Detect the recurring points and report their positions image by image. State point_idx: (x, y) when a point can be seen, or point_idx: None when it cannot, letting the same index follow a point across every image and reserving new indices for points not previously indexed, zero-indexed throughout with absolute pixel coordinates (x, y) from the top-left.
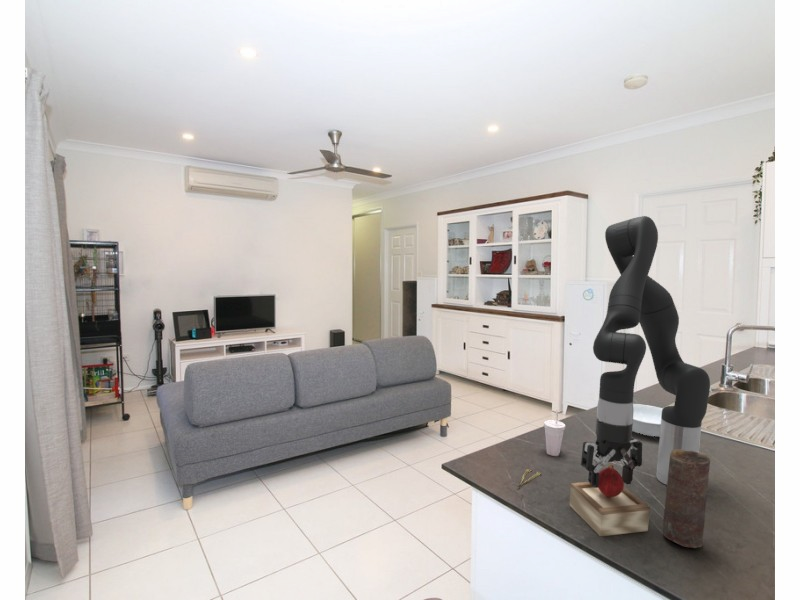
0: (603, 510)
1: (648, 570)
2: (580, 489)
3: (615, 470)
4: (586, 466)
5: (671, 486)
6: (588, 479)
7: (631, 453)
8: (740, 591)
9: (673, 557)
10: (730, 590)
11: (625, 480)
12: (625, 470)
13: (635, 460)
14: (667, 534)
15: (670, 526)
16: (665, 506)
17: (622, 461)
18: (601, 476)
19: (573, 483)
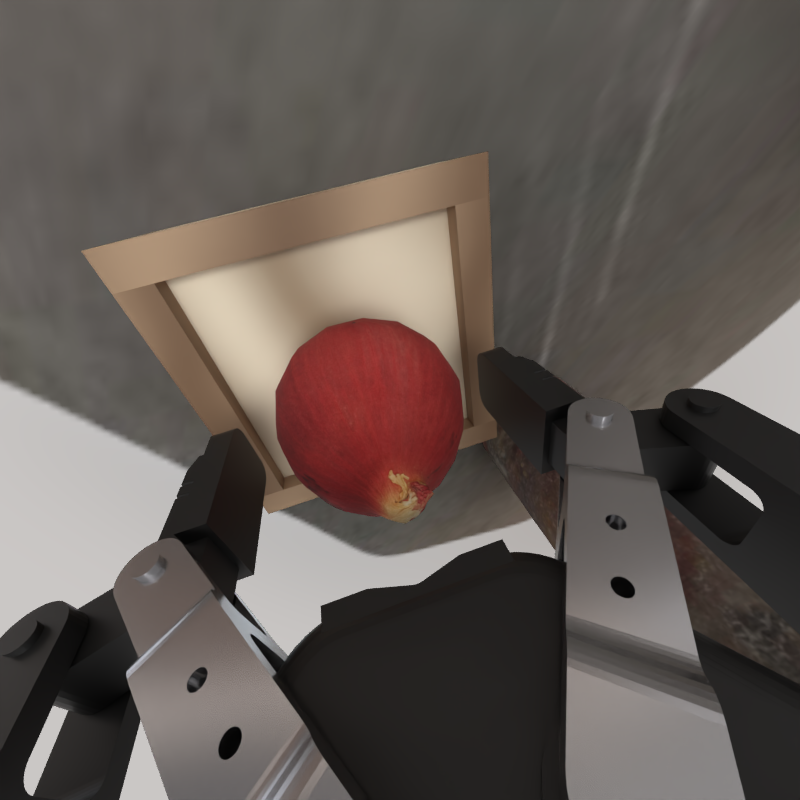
0: (278, 505)
1: (365, 523)
2: (171, 342)
3: (429, 486)
4: (73, 712)
5: None
6: (185, 479)
7: (761, 491)
8: (509, 523)
9: (451, 473)
10: (494, 526)
11: (487, 387)
12: (527, 427)
13: (684, 476)
14: (485, 442)
15: (501, 470)
16: (538, 481)
17: (565, 458)
18: (298, 475)
19: (108, 253)
